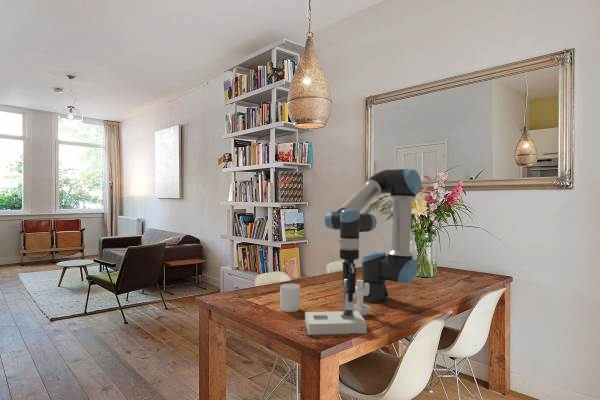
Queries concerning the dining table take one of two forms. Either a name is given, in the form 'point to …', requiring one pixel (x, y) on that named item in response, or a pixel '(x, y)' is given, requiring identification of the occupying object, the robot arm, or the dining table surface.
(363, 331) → the bore block
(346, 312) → the steel pin
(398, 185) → the robot arm
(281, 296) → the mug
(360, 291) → the figurine
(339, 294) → the dining table surface
